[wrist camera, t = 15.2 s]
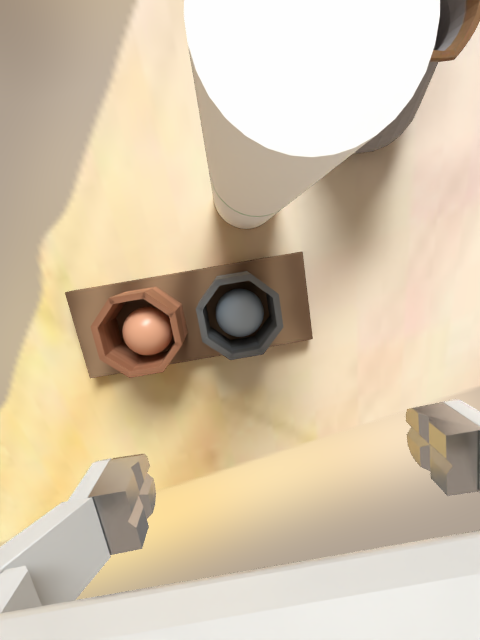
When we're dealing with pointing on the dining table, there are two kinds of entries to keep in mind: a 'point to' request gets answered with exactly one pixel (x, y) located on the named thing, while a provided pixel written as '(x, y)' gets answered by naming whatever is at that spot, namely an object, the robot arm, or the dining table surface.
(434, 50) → the coffee pot
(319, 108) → the cylindrical container
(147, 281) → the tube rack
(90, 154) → the dining table surface
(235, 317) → the slate ball
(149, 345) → the terracotta ball
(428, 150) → the dining table surface
